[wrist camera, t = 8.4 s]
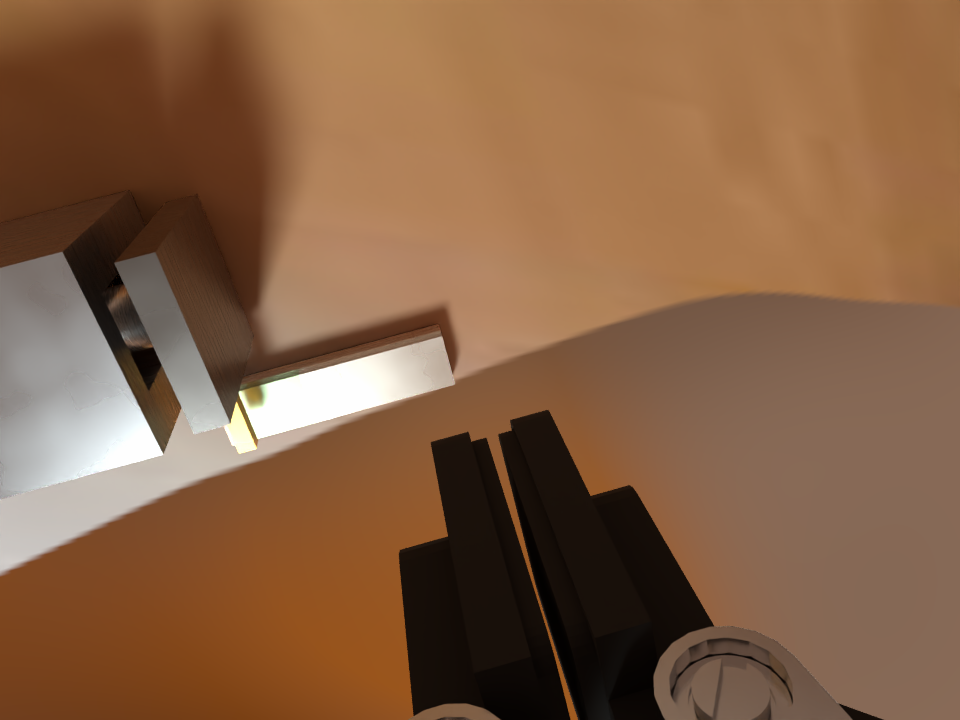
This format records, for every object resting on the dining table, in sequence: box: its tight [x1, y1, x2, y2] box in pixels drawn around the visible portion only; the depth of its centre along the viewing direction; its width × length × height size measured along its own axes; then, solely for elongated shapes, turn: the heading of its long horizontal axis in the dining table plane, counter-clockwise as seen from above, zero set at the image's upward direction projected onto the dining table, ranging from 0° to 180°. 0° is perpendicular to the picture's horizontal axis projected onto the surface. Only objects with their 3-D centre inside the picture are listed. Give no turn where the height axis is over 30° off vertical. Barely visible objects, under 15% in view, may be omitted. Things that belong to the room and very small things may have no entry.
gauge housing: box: [0, 190, 455, 499], centre depth 23 cm, size 20×9×6 cm, turn 103°
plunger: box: [102, 194, 258, 453], centre depth 23 cm, size 11×8×6 cm
